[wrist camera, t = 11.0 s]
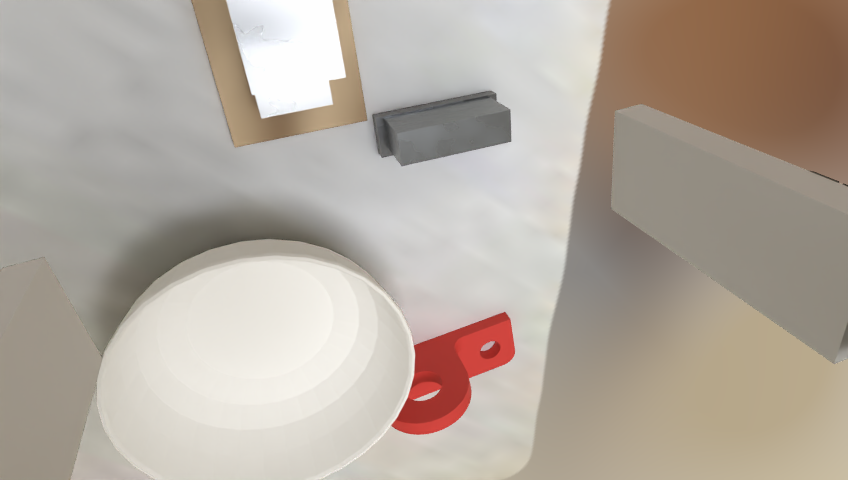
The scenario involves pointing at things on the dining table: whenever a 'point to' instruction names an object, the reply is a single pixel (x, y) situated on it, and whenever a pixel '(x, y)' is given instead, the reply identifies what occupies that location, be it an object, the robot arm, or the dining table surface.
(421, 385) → the bracket
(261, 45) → the bent metal sheet
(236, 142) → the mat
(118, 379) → the bowl
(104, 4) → the dining table surface
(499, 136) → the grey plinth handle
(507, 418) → the dining table surface
